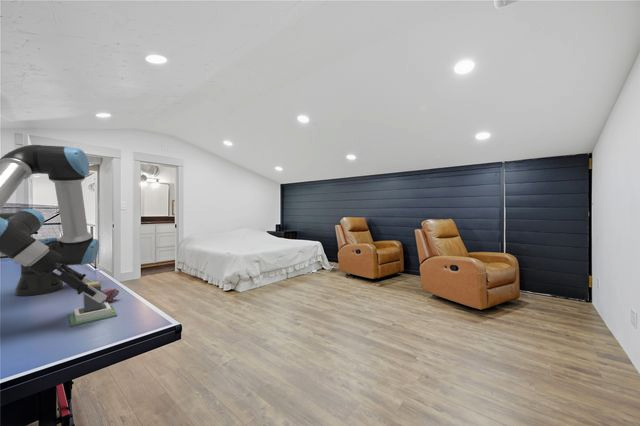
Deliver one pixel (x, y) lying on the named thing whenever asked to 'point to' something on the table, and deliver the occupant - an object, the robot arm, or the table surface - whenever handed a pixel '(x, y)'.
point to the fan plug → (89, 302)
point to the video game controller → (110, 294)
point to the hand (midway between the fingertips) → (101, 294)
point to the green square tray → (91, 315)
